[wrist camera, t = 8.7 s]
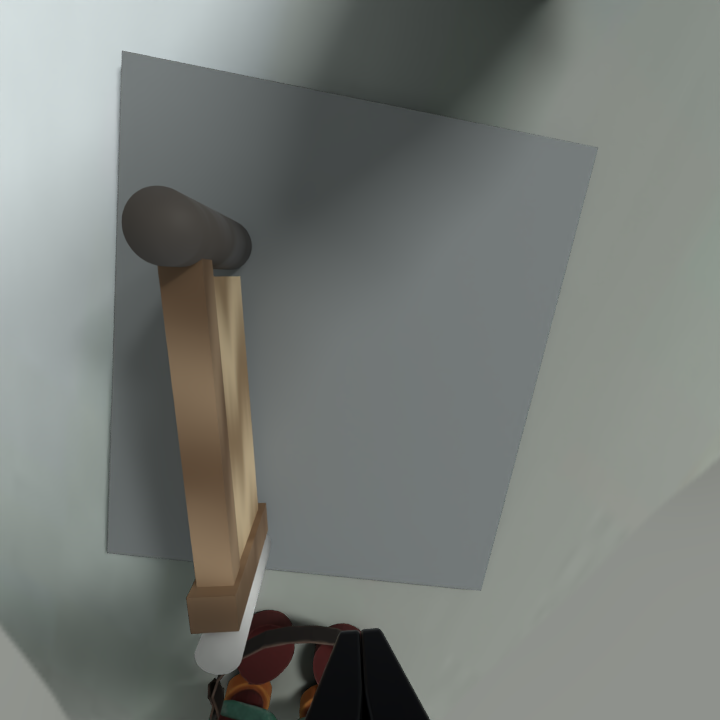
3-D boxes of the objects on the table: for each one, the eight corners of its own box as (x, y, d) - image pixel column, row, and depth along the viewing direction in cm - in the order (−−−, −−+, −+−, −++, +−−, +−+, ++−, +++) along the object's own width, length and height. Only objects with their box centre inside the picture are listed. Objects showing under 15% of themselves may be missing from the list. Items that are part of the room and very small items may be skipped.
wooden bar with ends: (199, 219, 17) (116, 185, 11) (249, 218, 17) (196, 185, 11) (229, 531, 20) (180, 646, 14) (271, 529, 21) (241, 643, 14)
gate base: (129, 58, 16) (-20, -95, 10) (590, 151, 18) (739, 77, 11) (113, 545, 21) (7, 672, 15) (477, 582, 23) (534, 711, 16)
